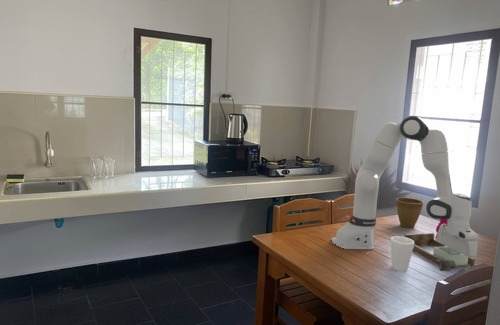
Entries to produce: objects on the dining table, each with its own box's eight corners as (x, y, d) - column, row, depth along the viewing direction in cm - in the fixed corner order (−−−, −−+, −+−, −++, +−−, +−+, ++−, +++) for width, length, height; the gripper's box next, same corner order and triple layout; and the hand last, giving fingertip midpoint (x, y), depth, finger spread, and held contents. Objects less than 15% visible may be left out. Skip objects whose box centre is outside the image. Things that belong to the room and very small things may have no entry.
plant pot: (422, 225, 228) (425, 200, 226) (418, 232, 216) (421, 205, 213) (396, 220, 236) (399, 196, 234) (391, 226, 223) (394, 200, 221)
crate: (448, 266, 168) (450, 255, 167) (432, 257, 177) (434, 247, 177) (467, 265, 170) (468, 254, 170) (450, 256, 180) (451, 246, 179)
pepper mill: (446, 236, 210) (450, 202, 207) (451, 241, 202) (456, 205, 199) (432, 235, 210) (437, 201, 207) (437, 240, 203) (442, 204, 200)
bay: (439, 272, 162) (440, 259, 161) (394, 245, 191) (396, 234, 190) (480, 268, 168) (482, 256, 167) (431, 243, 197) (432, 232, 196)
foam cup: (392, 262, 170) (395, 234, 169) (413, 268, 165) (417, 240, 163) (385, 268, 163) (388, 240, 161) (406, 275, 157) (410, 245, 155)
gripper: (435, 222, 179) (431, 250, 181) (470, 237, 159) (465, 268, 161) (446, 222, 181) (442, 249, 183) (481, 236, 161) (477, 267, 163)
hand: (453, 258), depth 172 cm, fingers closed
